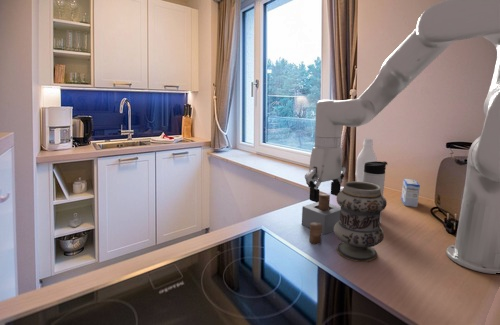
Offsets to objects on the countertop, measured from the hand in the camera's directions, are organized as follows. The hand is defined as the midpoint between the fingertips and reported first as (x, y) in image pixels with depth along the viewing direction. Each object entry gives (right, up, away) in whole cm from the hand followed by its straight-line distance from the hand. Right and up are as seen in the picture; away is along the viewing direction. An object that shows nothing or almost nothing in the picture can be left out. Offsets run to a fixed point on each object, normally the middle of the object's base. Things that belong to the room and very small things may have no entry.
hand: (325, 198), depth 92 cm
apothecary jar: (+5, -13, -14) cm, 19 cm away
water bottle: (+20, -5, +23) cm, 31 cm away
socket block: (0, -9, +2) cm, 9 cm away
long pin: (0, -9, +2) cm, 9 cm away
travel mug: (+16, -9, +5) cm, 19 cm away
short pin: (-5, -11, -8) cm, 15 cm away
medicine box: (+38, -5, +24) cm, 45 cm away
